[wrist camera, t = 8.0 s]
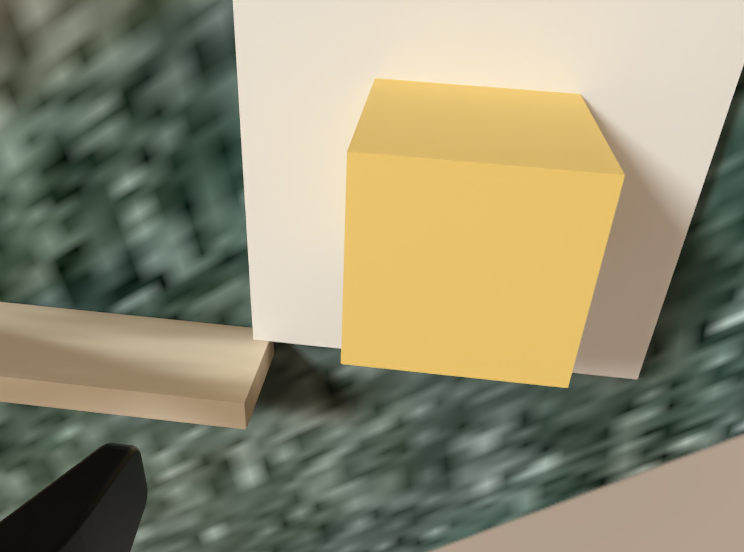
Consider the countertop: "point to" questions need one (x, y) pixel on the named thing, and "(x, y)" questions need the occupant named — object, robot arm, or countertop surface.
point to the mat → (489, 69)
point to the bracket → (131, 365)
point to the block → (474, 230)
